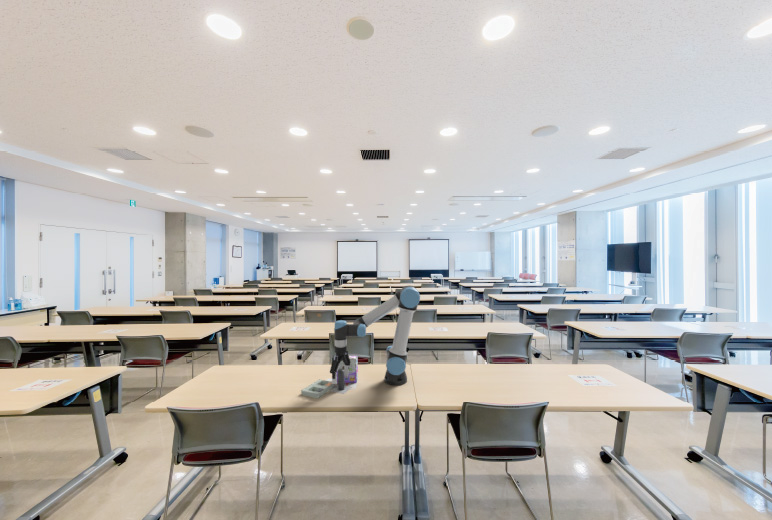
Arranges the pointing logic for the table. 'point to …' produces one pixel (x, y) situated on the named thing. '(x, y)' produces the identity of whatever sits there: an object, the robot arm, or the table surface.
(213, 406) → the table surface
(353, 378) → the candy box
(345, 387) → the mat
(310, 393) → the port box
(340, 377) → the plug
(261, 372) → the table surface
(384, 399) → the table surface
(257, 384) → the table surface
